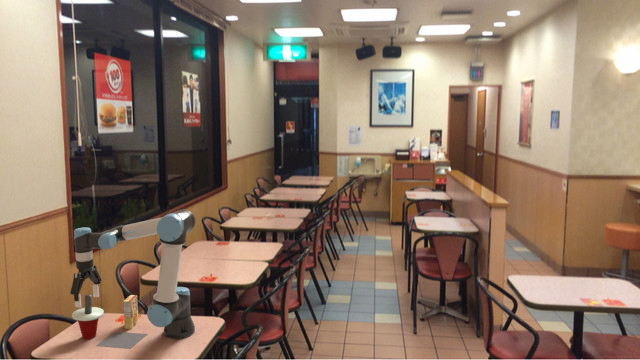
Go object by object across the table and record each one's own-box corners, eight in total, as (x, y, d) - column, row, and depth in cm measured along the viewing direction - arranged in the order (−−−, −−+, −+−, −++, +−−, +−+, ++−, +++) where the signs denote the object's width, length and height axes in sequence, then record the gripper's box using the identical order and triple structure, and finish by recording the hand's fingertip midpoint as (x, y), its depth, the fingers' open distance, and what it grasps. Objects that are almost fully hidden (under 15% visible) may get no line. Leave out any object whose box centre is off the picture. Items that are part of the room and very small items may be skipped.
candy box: (131, 322, 261) (129, 294, 259) (139, 322, 261) (137, 294, 259) (124, 329, 253) (122, 301, 251) (132, 329, 253) (131, 301, 251)
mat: (148, 335, 246) (148, 334, 246) (130, 350, 231) (130, 348, 231) (115, 332, 249) (115, 331, 249) (95, 347, 234) (95, 345, 234)
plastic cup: (92, 343, 237) (90, 319, 236) (72, 341, 240) (71, 318, 238) (106, 334, 248) (105, 311, 246) (87, 332, 250) (85, 309, 249)
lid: (109, 311, 248) (109, 292, 246) (92, 322, 234) (92, 302, 233) (84, 307, 250) (84, 288, 249) (65, 318, 236) (65, 298, 235)
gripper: (93, 252, 252) (96, 292, 254) (59, 267, 227) (63, 311, 230) (107, 253, 250) (109, 293, 253) (74, 267, 226) (77, 312, 229)
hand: (87, 302), depth 241 cm, fingers open, 13 cm apart
